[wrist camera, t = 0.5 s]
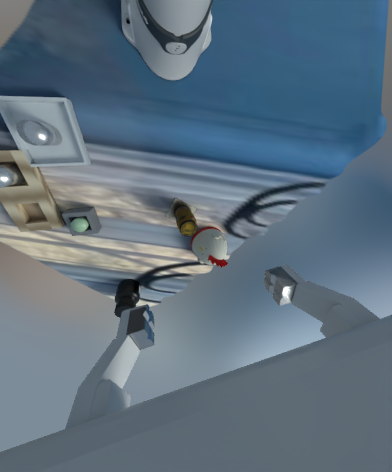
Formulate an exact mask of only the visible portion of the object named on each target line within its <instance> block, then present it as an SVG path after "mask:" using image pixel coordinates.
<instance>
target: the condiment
mask: <svg viewBox="0 0 392 472" xmlns="http://www.w3.org/2000/svg"><path fill="white" fill-rule="evenodd" d="M195 211H196V209H195V208H194V207H192V206H190V205H188V204H186V203H184V202H182V201H181V200H178V199H177V198H175V200H174V201H173V203H172V205H171V207H170V208H169V210H168V212H167V214H166V217H169V218H171V219H173V220H175V221H176V223H177V226H178V229H179V230H180V232H181V233H182V235H184V236H192V235H194V234H195V233H196V231H197V222H196V219H195V217H194V215H193V214H194V212H195ZM173 213H174V214H173Z"/></svg>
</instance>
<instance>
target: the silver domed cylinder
mask: <svg viewBox="0 0 392 472" xmlns="http://www.w3.org/2000/svg"><path fill="white" fill-rule="evenodd" d="M24 181H26V180H25V178H24V176H23V174H22V172H21V170H20V169H19V167H18V165H16V164H3V165H0V188H2V187H6V186H10V185H13V184H17V183H21V182H24Z"/></svg>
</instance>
